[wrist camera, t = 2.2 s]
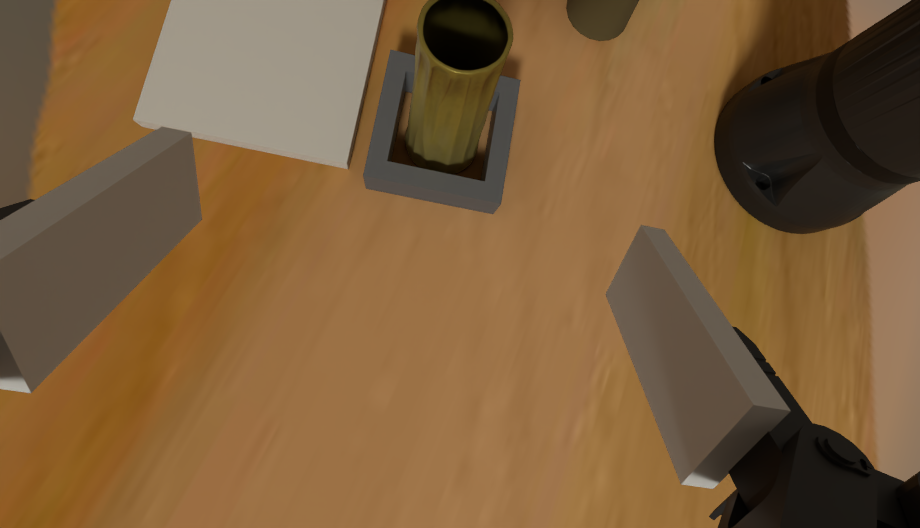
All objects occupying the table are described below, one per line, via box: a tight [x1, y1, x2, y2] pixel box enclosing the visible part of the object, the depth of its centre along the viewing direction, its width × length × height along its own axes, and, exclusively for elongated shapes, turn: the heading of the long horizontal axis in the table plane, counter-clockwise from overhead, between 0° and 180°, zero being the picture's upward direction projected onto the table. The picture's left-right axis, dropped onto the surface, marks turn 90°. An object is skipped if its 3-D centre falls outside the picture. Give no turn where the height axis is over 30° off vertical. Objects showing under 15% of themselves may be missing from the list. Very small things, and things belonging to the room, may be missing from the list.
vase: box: [405, 0, 513, 175], centre depth 31 cm, size 6×6×14 cm
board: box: [133, 0, 386, 169], centre depth 37 cm, size 16×16×1 cm
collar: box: [363, 50, 520, 214], centre depth 37 cm, size 11×11×3 cm
